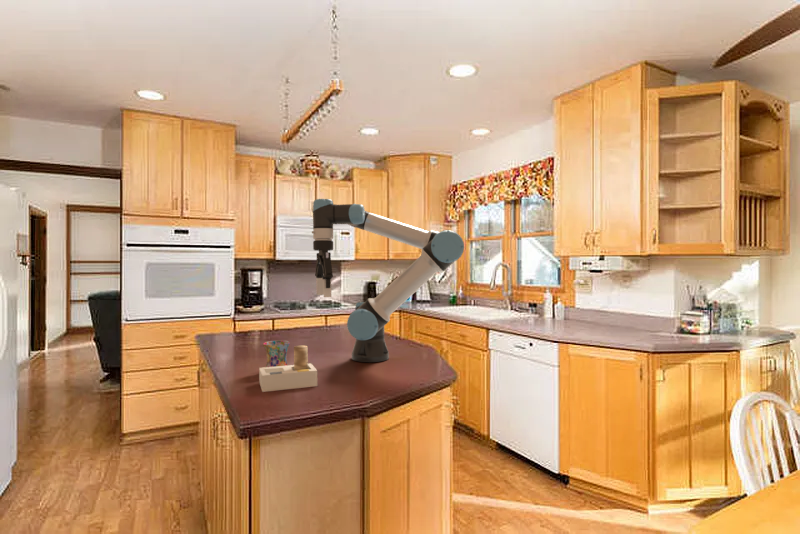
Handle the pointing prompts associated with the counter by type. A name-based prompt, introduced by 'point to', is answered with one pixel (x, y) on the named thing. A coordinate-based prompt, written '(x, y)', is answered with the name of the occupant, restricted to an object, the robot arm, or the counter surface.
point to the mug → (276, 353)
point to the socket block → (286, 377)
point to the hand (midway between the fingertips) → (323, 295)
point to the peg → (300, 357)
